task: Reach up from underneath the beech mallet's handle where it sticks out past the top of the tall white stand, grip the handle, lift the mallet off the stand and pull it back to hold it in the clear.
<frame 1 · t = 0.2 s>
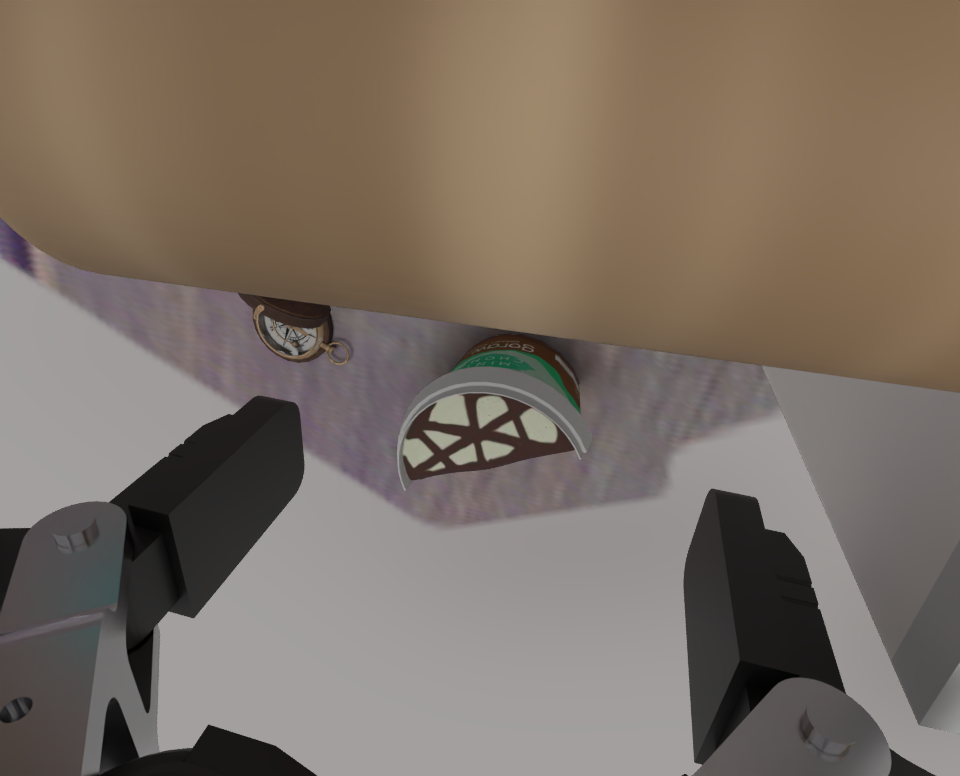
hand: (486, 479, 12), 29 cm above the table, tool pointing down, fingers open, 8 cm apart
stand: (848, 95, 31), on the table
compass: (312, 318, 45), on the table
food container: (503, 358, 43), on the table
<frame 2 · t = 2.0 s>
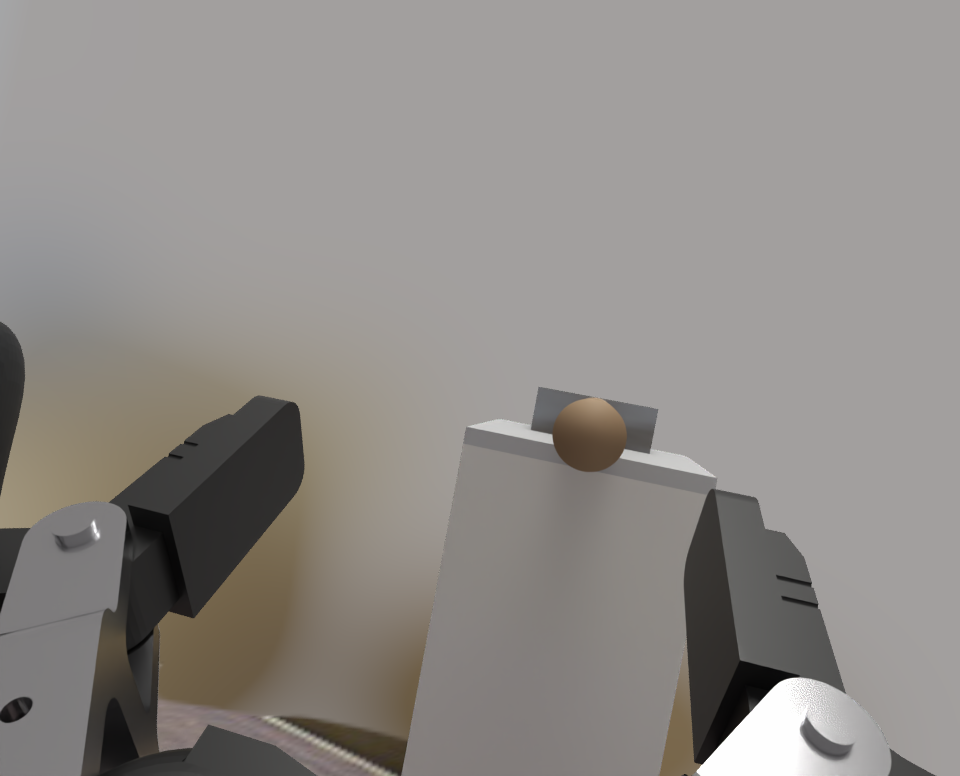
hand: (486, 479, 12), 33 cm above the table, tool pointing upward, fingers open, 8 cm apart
mallet: (587, 448, 35), point 32 cm above the table, touching stand
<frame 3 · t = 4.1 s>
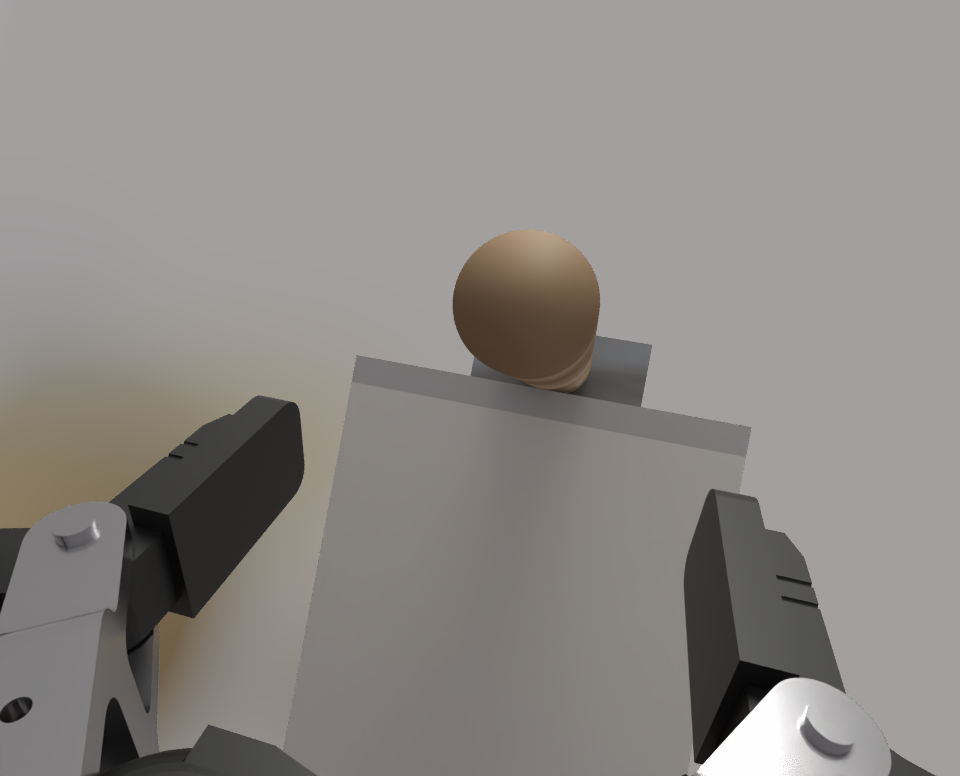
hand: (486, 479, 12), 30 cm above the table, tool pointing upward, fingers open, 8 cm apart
mallet: (545, 390, 23), point 32 cm above the table, touching stand
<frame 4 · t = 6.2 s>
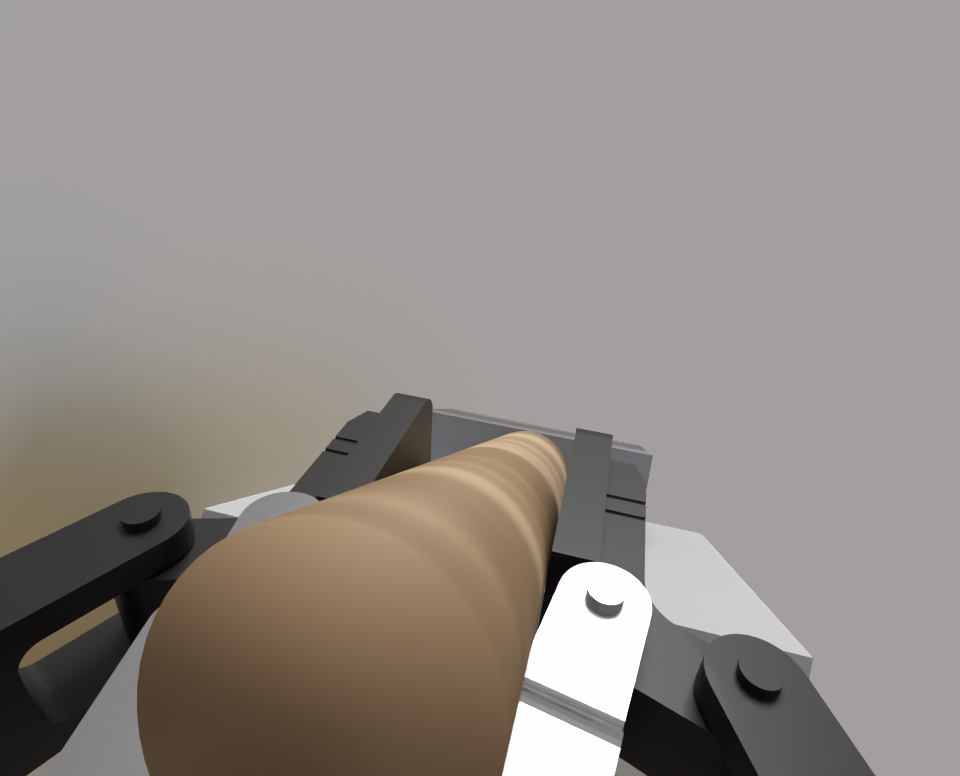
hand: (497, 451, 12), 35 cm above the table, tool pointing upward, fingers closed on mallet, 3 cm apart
mallet: (490, 559, 15), point 32 cm above the table, touching gripper, stand
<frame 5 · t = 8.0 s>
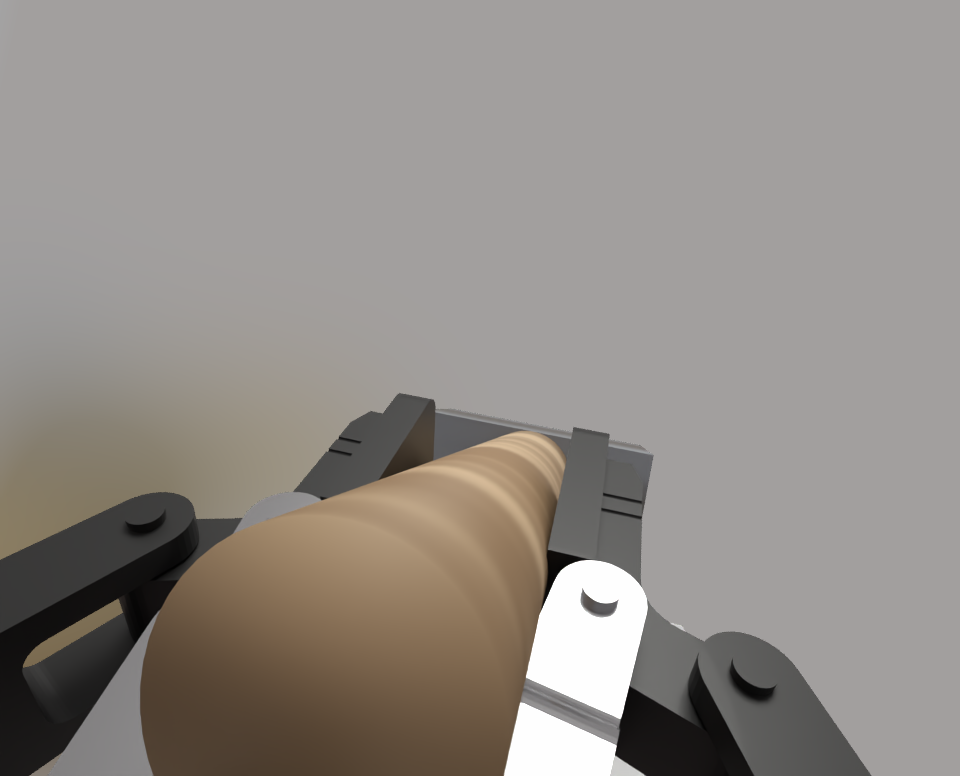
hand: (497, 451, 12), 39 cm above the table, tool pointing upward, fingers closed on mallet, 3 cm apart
mallet: (491, 559, 15), point 36 cm above the table, touching gripper
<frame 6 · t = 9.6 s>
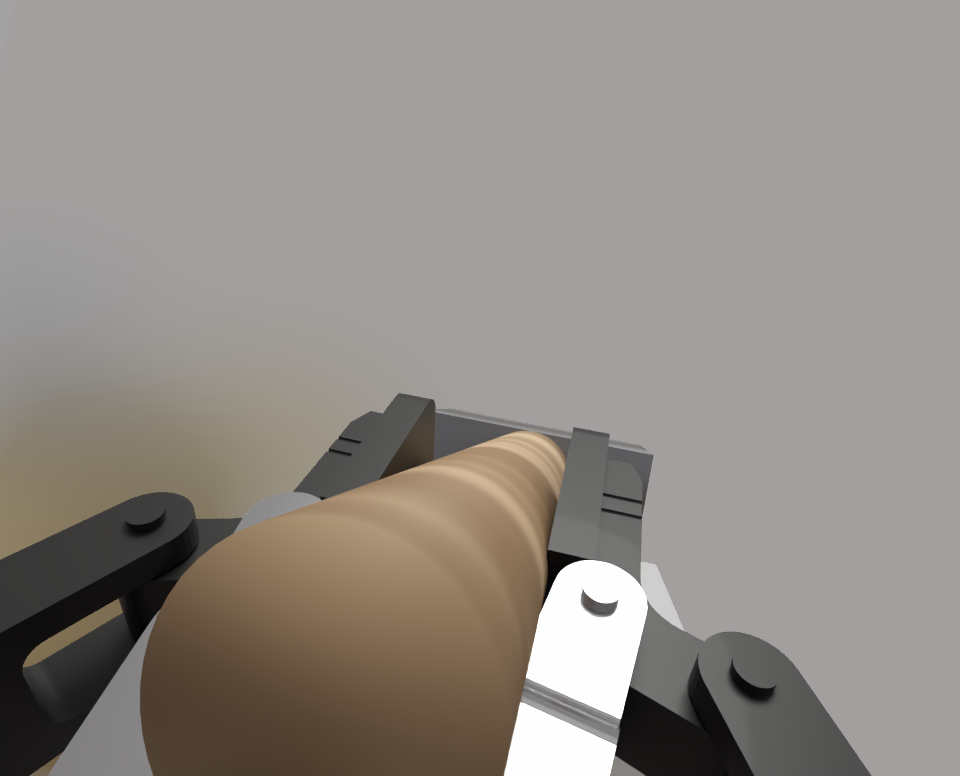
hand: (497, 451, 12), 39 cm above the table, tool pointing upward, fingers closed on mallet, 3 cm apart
mallet: (491, 559, 15), point 36 cm above the table, touching gripper
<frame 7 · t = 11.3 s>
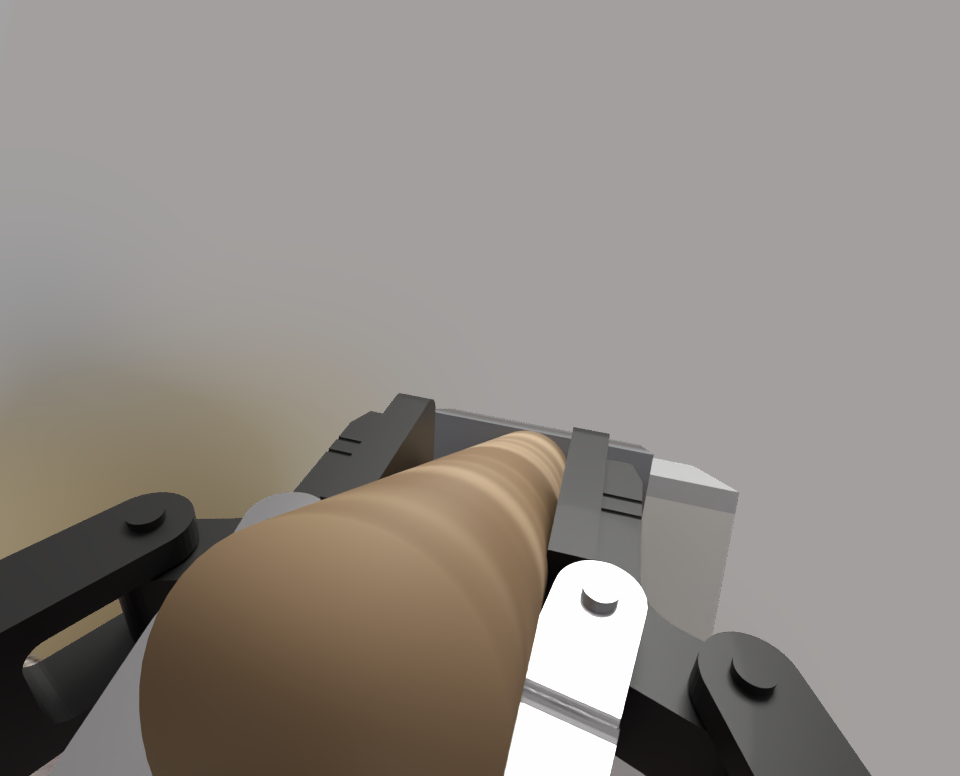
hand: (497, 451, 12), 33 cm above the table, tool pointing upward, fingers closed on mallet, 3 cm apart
mallet: (491, 559, 15), point 30 cm above the table, touching gripper
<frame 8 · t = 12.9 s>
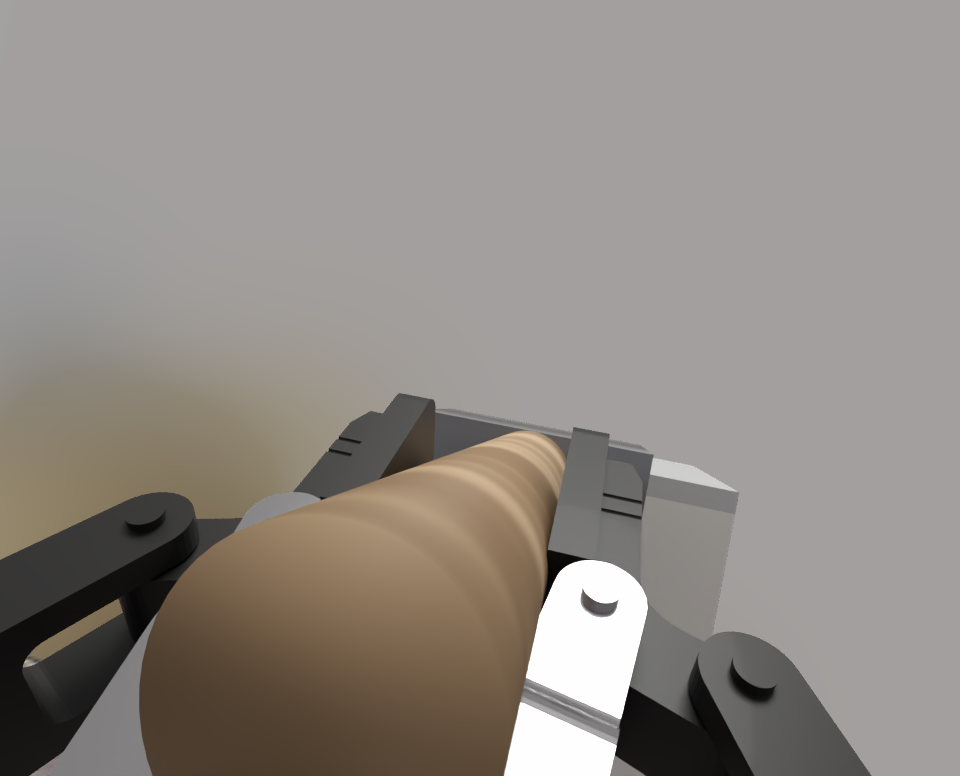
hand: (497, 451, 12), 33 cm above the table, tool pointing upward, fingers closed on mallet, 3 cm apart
mallet: (491, 559, 15), point 30 cm above the table, touching gripper
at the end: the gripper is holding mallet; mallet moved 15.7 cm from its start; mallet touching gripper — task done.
